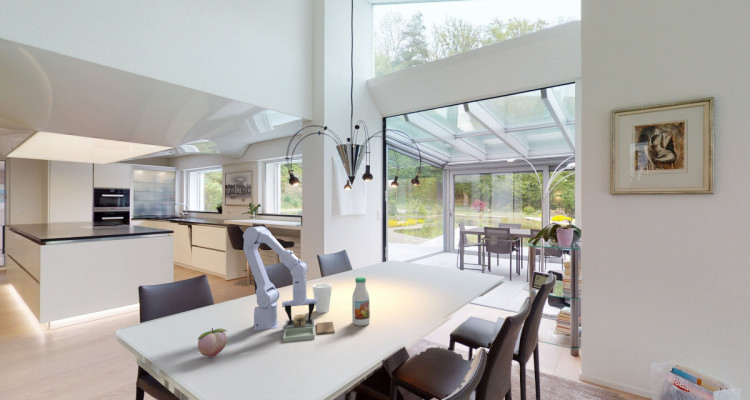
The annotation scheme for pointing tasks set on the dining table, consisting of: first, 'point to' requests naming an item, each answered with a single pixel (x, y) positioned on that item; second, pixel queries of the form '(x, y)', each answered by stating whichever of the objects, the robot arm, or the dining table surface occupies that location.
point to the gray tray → (290, 326)
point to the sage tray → (298, 334)
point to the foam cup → (322, 296)
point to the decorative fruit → (212, 342)
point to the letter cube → (299, 320)
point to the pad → (325, 328)
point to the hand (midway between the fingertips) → (300, 322)
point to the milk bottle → (360, 303)
